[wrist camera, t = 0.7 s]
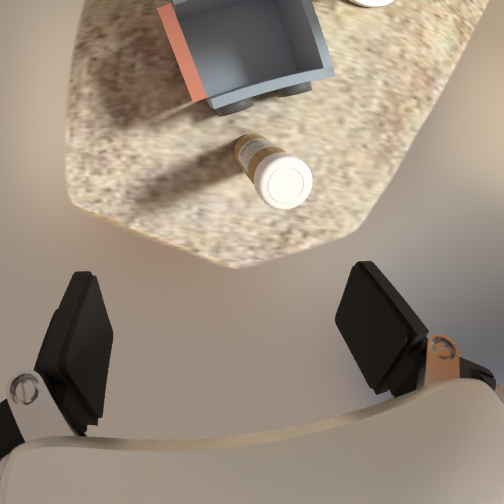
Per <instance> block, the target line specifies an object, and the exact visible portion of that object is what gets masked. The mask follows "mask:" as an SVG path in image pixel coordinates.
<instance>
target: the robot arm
mask: <svg viewBox="0 0 504 504" xmlns="http://www.w3.org/2000/svg"><path fill="white" fill-rule="evenodd" d="M348 1H350V2H352V3H355V4H357V5H360V6H364V7H371V8H375V7H381V6H385V5H387V4H389V3H391V2H392V1H393V0H348ZM335 323H336V325H337V327H338V329H339V331H340V333H341V334H342V336H343V338H344V340H345V342H346V344H347V346H348V347H349V349H350V351H351V353H352V355H353V357H354V359H355V361H356V362H357V364H358V366H359V368H360V370H361V372H362V374H363V376H364V378H365V379H366V382H367V383H368V385H369V387H370V388H372V389H374V391H375V393H376V395H378V394H381V393H383V392H386V391H388V390H390V392H391V396H390V400H387V401H385V402H382V403H379V404H376V405H373V406H370V407H367V408H363V409H360V410H357V411H353V412H350V413H346V414H343V415H339V416H335V417H332V418H328V419H324V420H320V421H315V422H311V423H307V424H302V425H298V426H293V427H287V428H282V429H276V430H270V431H264V432H257V433H250V434H242V435H234V436H224V437H212V438H198V439H171V440H170V439H169V440H168V439H167V440H158V439H154V440H153V439H118V438H104V437H88V436H87V434H86V433H85V432H86V431H87V425H96V426H97V425H98V418H102V416H103V408H104V398H105V389H106V382H107V374H108V367H109V361H110V354H111V349H112V343H113V330H112V327H111V324H110V321H109V318H108V315H107V311H106V308H105V305H104V301H103V298H102V294H101V291H100V287H99V284H98V280H97V277H96V276H92V273H91V272H89V271H84V272H83V271H82V272H75V273H74V274H73V276H72V279H71V281H70V283H69V285H68V287H67V289H66V292H65V294H64V296H63V299H62V301H61V303H60V306H59V308H58V309H57V310H56V311H55V312H54V314H53V317H52V319H51V322H50V324H49V327H48V329H47V332H46V335H45V338H44V340H43V343H42V346H41V349H40V352H39V355H38V358H37V361H36V364H35V367H34V370H29V369H28V370H27V369H26V370H21V371H19V372H17V373H15V374H14V375H13V376H12V377H11V378H10V380H9V382H8V384H7V387H6V396H7V399H5V400H4V401H2V402H1V403H0V504H504V387H502V386H501V385H500V384H497V385H496V380H495V378H494V376H493V374H492V372H491V371H490V370H488V369H487V368H485V367H483V366H480V365H478V364H475V363H473V362H471V361H468V360H466V359H463V358H461V357H459V351H458V348H457V346H456V344H455V343H454V342H453V341H452V340H451V339H450V338H448V337H446V336H444V335H440V334H434V335H432V336H431V337H430V338H429V339H428V338H427V337H426V335H427V334H428V332H429V331H428V329H427V328H426V327H425V325H424V324H423V323H422V322H421V320H420V319H419V318H418V316H417V315H416V314H415V313H414V311H413V310H412V309H411V307H410V306H409V305H408V304H407V302H406V301H405V300H404V299H403V297H402V296H401V295H400V294H399V293H398V291H397V290H396V289H395V288H394V287H393V285H392V284H391V283H390V282H389V280H388V279H387V278H386V277H385V276H384V274H383V273H382V272H381V271H380V270H379V269H378V268H377V266H376V265H375V264H374V263H373V262H372V261H360V262H357V263H356V264H355V266H353V267H352V269H351V272H350V276H349V278H348V281H347V285H346V288H345V291H344V293H343V296H342V299H341V302H340V305H339V307H338V310H337V313H336V316H335Z"/></svg>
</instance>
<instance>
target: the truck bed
mask: <svg viewBox="0 0 504 504" xmlns="http://www.w3.org/2000/svg"><path fill="white" fill-rule="evenodd" d="M172 4H173V9H174V12H175V14H176V17H177V20H178V22H179V25H180V27H181V30H182V32H183V35H184V38H185V40H186V43H187V45H188V48H189V51H190V53H191V56H192V58H193V61H194V64H195V66H196V69H197V72H198V74H199V77H200V80H201V82H202V85H203V87H204V90H205V93H206V95H207V98H206V100H207V103H208V106H210V107H211V108H213V109H216V111H217V114H218V117H221V116H225V115H229V114H233V113H236V112H239V111H242V110H245V109H247V108H250V107H252V106H253V102H252V99H251V97H253V96H256V95H259V94H263V93H266V92H270V91H273V90H276V93H277V96H278V97H286V96H291V95H296V94H300V93H304V92H307V91H310V90H312V88H311V84H310V81H313V80H318V79H323V78H328V77H333V76H335V72H334V69H333V65H332V62H331V58H330V55H329V52H328V48H327V45H326V42H325V39H324V36H323V33H322V30H321V27H320V24H319V21H318V18H317V15H316V13H315V10H314V7H313V4H312V2H311V0H172Z"/></svg>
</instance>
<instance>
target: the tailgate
mask: <svg viewBox="0 0 504 504" xmlns="http://www.w3.org/2000/svg"><path fill="white" fill-rule="evenodd" d="M157 10H158V13H159V16H160V18H161V21H162V23H163V26H164V29H165V31H166V34H167V36H168V39H169V42H170V44H171V47H172V49H173V52H174V55H175V57H176V60H177V62H178V65H179V68H180V70H181V73H182V75H183V78H184V80H185V83H186V86H187V88H188V91H189V93H190V96H191V99H192V101H193V103H194V102H197V101H200V100H202V99H205V98H207V95H206V93H205V90H204V87H203V85H202V82H201V80H200V77H199V74H198V72H197V69H196V66H195V64H194V61H193V58H192V56H191V53H190V51H189V48H188V45H187V43H186V40H185V38H184V35H183V32H182V30H181V27H180V25H179V22H178V20H177V17H176V14H175V12H174V9H173V7H172V4H171V3H169V4H166V5H163V6H161V7H158V8H157Z"/></svg>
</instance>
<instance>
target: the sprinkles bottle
mask: <svg viewBox="0 0 504 504" xmlns="http://www.w3.org/2000/svg"><path fill="white" fill-rule="evenodd" d="M234 158H235V160H236V162H237V163H238V164H239V165H240V166H241V168H242V170H243V171H244V173H245V174H246V175H247V177H248V178H249V179H250V180H251V181H252V183H253V184H254V186H255V189H256V191H257V193H258V194H259V196H260V197H261V199H262V200H263V201H264V202H265V203H266V204H267V205H269V206H270V207H272V208H275V209H279V210H287V209H291V208H294V207H296V206H298V205H300V204H301V203H302V202H303V201H304V200H305V199H306V198H307V196H308V195H309V193H310V190H311V187H312V175H311V172H310V169H309V168H308V166H307V165H306V164H305V163H304V162H303V161H302V160H300V159H299V158H297V157H296V156H294V155H292V154H290V153H286V152H285V151H284V150H283V149H281V148H280V147H278V146H276V145H275V144H273V143H272V142H270V141H268V140H266V139H265V138H264V137H263V136H261V135H258V134H247V135H245V136H243V137H242V138H240V139H239V140H238V141H237V143H236V145H235V148H234Z"/></svg>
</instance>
